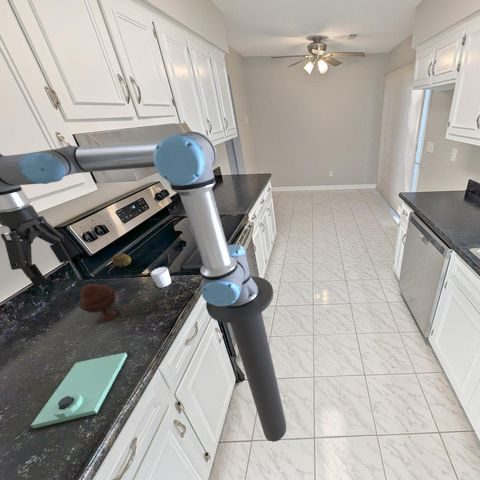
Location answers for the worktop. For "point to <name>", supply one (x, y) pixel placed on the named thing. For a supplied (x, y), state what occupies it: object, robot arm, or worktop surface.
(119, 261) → the potato
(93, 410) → the scale
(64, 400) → the button
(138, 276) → the worktop surface
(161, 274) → the shot glass
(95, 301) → the ice cream bowl
